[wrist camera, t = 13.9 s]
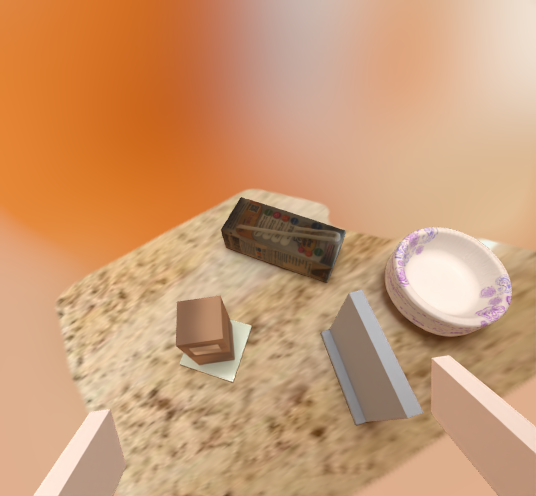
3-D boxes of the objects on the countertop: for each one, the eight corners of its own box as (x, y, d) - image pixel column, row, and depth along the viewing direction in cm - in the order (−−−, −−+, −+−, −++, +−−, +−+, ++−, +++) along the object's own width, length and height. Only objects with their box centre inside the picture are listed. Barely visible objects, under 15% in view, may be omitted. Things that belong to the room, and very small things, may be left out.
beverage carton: (327, 286, 47) (334, 267, 41) (223, 249, 51) (216, 227, 45) (340, 248, 51) (348, 226, 45) (242, 217, 55) (238, 193, 49)
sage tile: (251, 326, 43) (251, 325, 43) (233, 382, 39) (232, 382, 38) (203, 312, 44) (202, 311, 44) (180, 364, 40) (179, 363, 40)
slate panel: (320, 333, 42) (338, 296, 31) (345, 326, 43) (372, 286, 31) (355, 425, 36) (394, 422, 24) (384, 415, 37) (436, 408, 25)
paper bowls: (481, 357, 40) (522, 342, 33) (371, 323, 43) (389, 303, 36) (476, 267, 48) (509, 240, 41) (383, 243, 51) (400, 215, 44)
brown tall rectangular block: (232, 324, 43) (220, 295, 33) (234, 360, 40) (222, 339, 31) (198, 329, 42) (177, 301, 33) (199, 365, 40) (175, 346, 30)
